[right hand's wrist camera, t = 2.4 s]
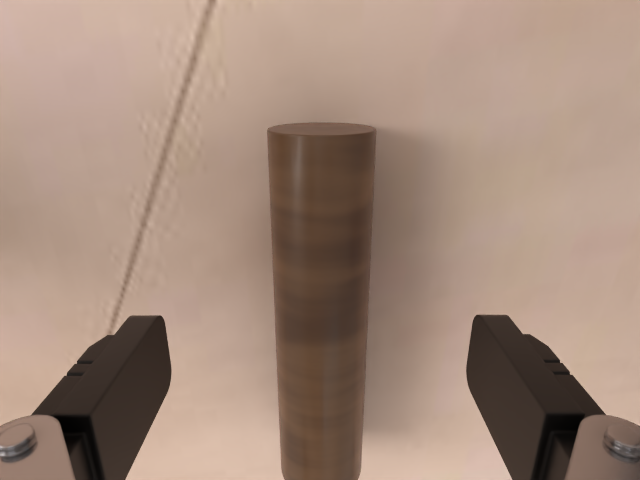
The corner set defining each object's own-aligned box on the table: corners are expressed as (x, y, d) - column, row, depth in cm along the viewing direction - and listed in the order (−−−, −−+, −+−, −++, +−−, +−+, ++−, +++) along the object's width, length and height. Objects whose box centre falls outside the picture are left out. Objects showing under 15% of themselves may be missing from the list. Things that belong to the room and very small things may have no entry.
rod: (273, 122, 26) (260, 135, 20) (370, 122, 26) (382, 135, 20) (284, 433, 34) (277, 500, 29) (357, 433, 34) (364, 500, 29)
